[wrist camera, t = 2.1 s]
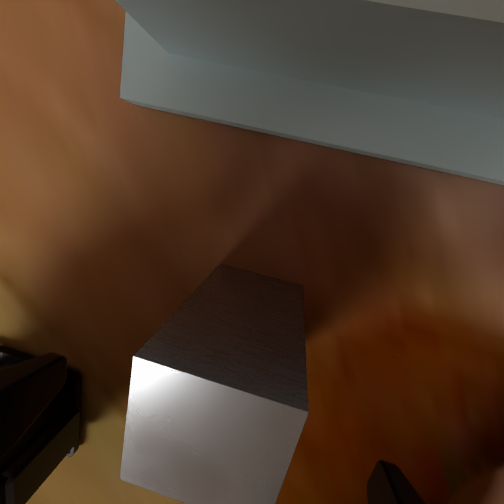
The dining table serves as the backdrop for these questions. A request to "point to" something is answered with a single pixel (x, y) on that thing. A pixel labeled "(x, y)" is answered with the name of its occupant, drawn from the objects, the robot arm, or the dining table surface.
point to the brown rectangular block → (220, 393)
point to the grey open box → (331, 73)
